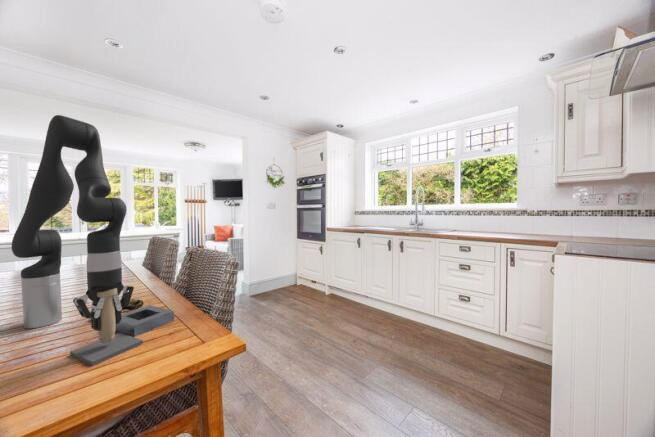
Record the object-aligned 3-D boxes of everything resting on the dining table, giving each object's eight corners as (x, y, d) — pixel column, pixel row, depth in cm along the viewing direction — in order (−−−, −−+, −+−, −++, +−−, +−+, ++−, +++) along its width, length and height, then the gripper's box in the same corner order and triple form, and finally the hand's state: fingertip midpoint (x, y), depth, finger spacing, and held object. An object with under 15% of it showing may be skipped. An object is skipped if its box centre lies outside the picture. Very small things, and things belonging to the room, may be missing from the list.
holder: (110, 328, 87) (109, 318, 87) (150, 314, 99) (149, 305, 99) (134, 336, 81) (134, 325, 81) (174, 320, 93) (173, 310, 93)
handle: (97, 348, 70) (95, 293, 70) (95, 340, 75) (93, 288, 74) (120, 341, 74) (118, 289, 73) (116, 334, 78) (114, 285, 78)
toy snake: (94, 309, 92) (83, 306, 97) (95, 322, 92) (83, 319, 97) (149, 296, 108) (137, 294, 112) (150, 307, 107) (138, 305, 112)
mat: (70, 355, 71) (70, 351, 71) (120, 335, 82) (119, 332, 82) (92, 365, 66) (92, 361, 66) (142, 343, 77) (142, 340, 77)
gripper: (125, 261, 81) (127, 315, 82) (64, 271, 68) (67, 335, 69) (139, 263, 78) (141, 319, 79) (79, 274, 65) (81, 341, 66)
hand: (106, 326), depth 74 cm, fingers closed on handle, 4 cm apart
